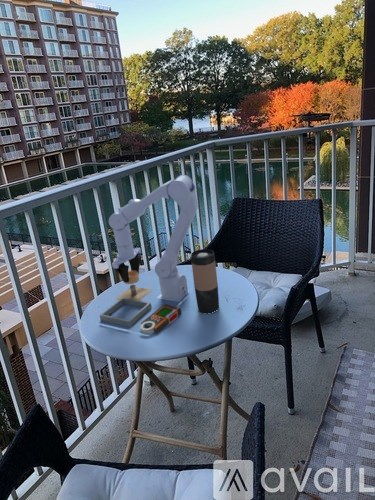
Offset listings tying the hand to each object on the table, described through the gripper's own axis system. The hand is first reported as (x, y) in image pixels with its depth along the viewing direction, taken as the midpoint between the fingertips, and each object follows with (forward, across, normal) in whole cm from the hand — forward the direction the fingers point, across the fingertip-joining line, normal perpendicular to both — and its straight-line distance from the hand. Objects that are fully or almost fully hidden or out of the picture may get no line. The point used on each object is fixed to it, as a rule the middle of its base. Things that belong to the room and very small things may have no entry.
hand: (131, 278), depth 135 cm
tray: (+7, +12, +6) cm, 16 cm away
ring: (+1, 0, 0) cm, 1 cm away
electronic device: (+8, +13, +19) cm, 24 cm away
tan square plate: (+7, 0, 0) cm, 7 cm away
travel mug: (+8, 0, +31) cm, 32 cm away
